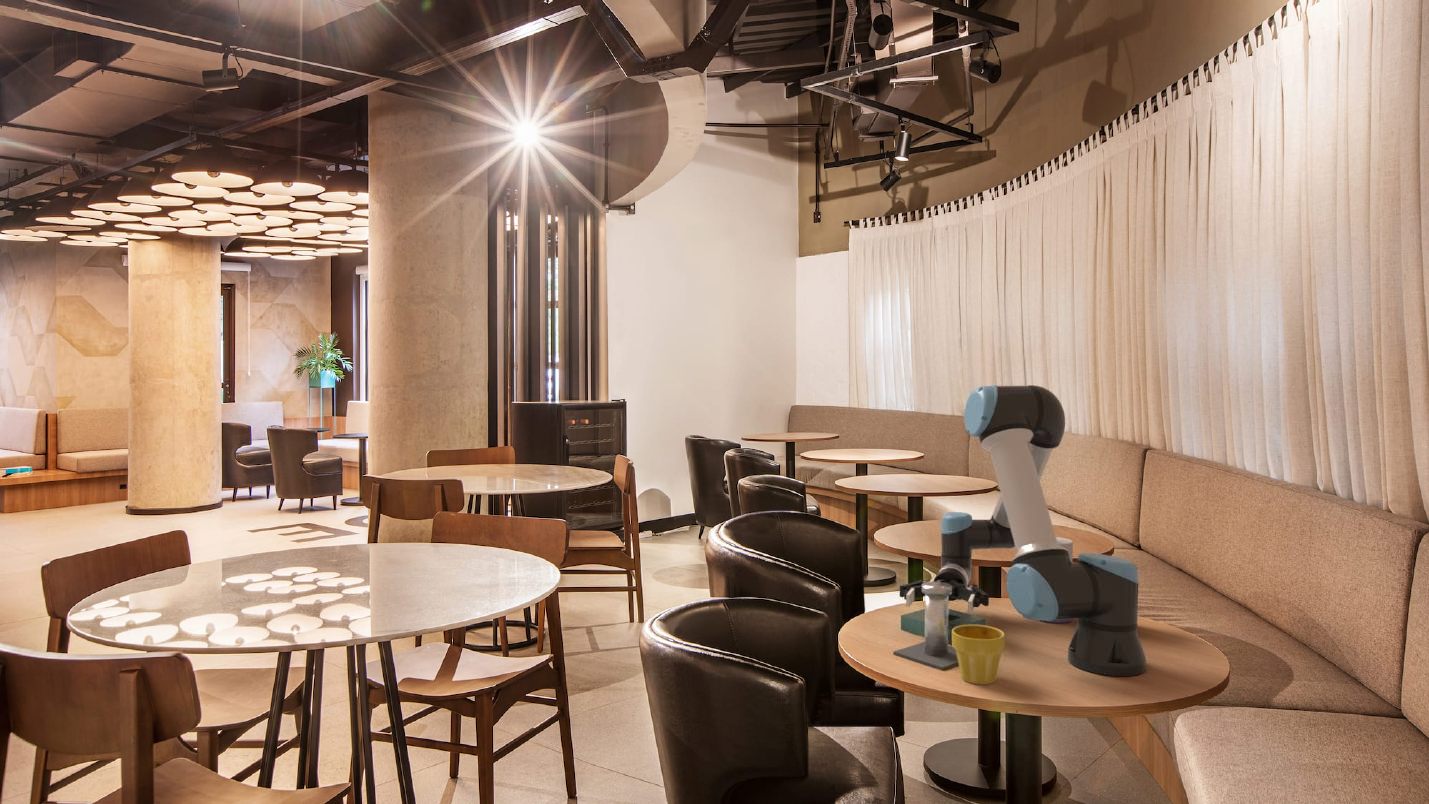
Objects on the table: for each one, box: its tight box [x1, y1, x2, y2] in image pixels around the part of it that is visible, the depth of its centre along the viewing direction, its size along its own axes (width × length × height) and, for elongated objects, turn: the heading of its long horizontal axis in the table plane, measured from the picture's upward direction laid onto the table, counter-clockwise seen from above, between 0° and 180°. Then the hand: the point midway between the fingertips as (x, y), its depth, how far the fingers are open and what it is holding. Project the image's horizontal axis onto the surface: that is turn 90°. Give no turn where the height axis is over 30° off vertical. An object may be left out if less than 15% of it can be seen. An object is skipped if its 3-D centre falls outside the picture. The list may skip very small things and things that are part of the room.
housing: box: [900, 608, 986, 645], centre depth 205 cm, size 14×14×4 cm
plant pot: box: [951, 625, 1006, 685], centre depth 173 cm, size 10×10×10 cm
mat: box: [892, 641, 959, 671], centre depth 187 cm, size 13×13×1 cm
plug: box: [922, 581, 952, 657], centre depth 187 cm, size 6×6×15 cm
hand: (938, 604), depth 192 cm, fingers open, 13 cm apart
